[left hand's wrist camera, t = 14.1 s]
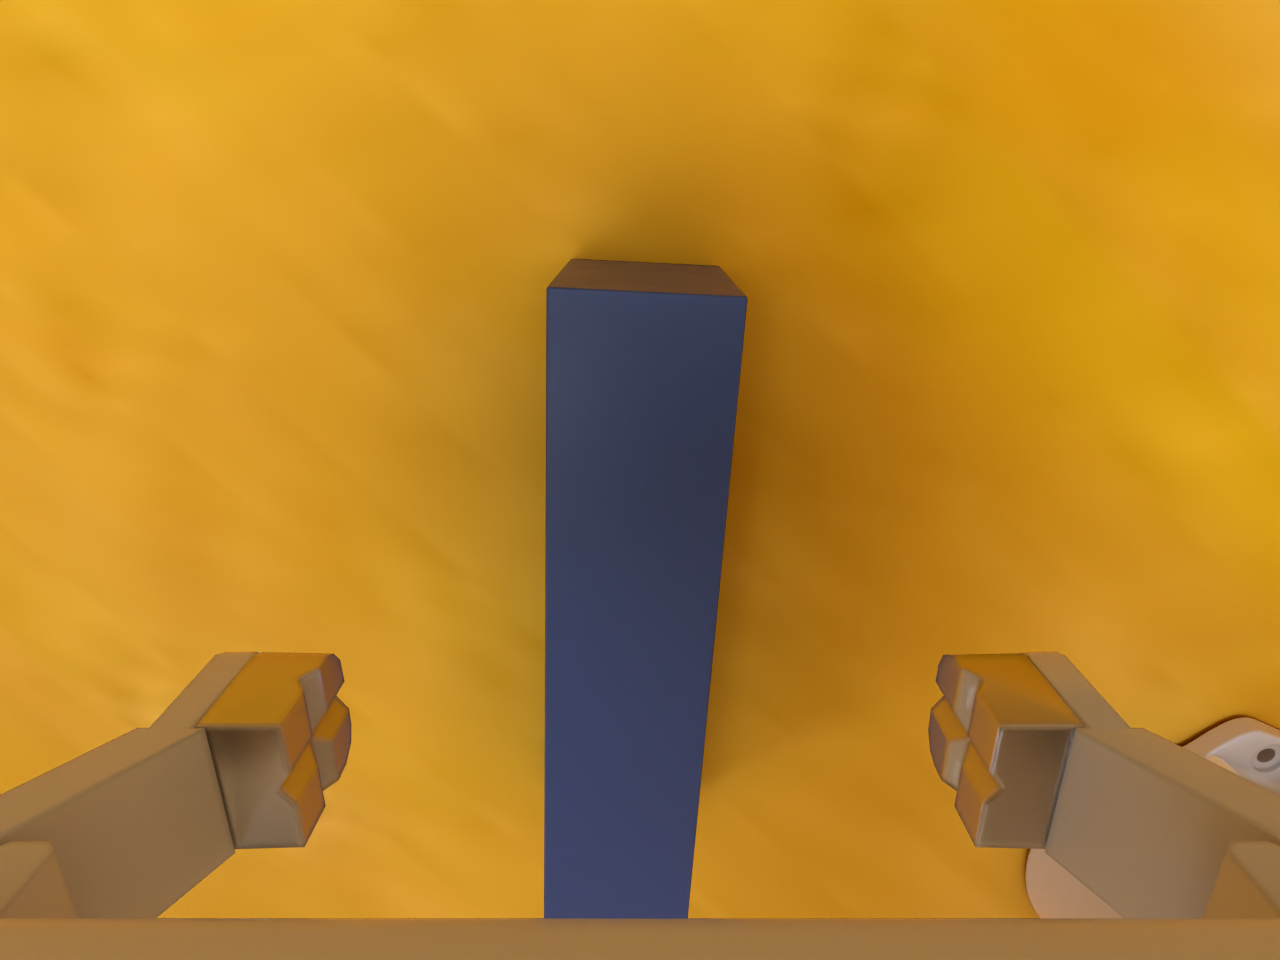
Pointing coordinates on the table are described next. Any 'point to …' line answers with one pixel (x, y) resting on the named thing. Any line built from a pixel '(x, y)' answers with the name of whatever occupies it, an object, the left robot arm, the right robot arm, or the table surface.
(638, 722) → the bar
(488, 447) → the table surface
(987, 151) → the table surface
